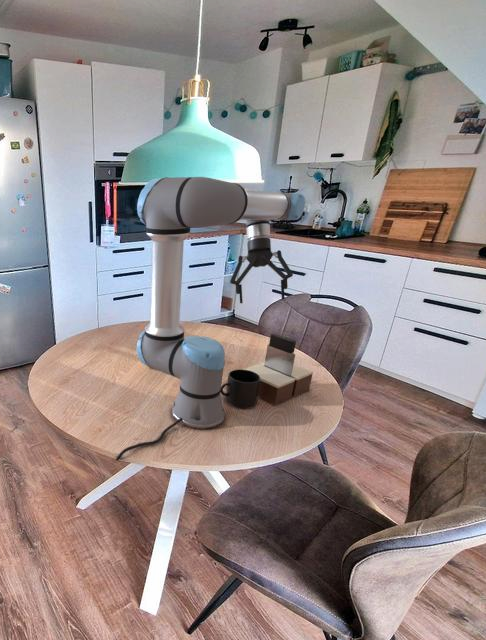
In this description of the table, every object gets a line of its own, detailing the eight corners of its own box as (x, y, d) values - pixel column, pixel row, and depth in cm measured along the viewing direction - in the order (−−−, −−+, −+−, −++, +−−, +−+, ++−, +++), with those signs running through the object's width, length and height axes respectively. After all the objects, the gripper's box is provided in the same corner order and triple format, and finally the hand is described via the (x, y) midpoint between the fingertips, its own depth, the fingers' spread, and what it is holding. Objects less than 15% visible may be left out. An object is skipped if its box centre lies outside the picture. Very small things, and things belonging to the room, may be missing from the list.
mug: (213, 395, 126) (215, 370, 123) (247, 392, 128) (251, 368, 124) (224, 410, 118) (228, 384, 114) (261, 407, 119) (266, 381, 116)
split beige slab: (274, 405, 121) (278, 386, 118) (239, 387, 131) (241, 369, 129) (309, 390, 129) (313, 371, 126) (273, 374, 140) (276, 357, 137)
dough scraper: (288, 377, 123) (295, 342, 118) (262, 366, 131) (268, 333, 126) (292, 376, 124) (299, 341, 119) (266, 365, 132) (271, 332, 127)
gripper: (297, 235, 132) (300, 298, 134) (222, 247, 142) (225, 305, 143) (299, 230, 125) (302, 296, 127) (220, 243, 135) (223, 304, 136)
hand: (261, 301), depth 135 cm, fingers open, 13 cm apart
